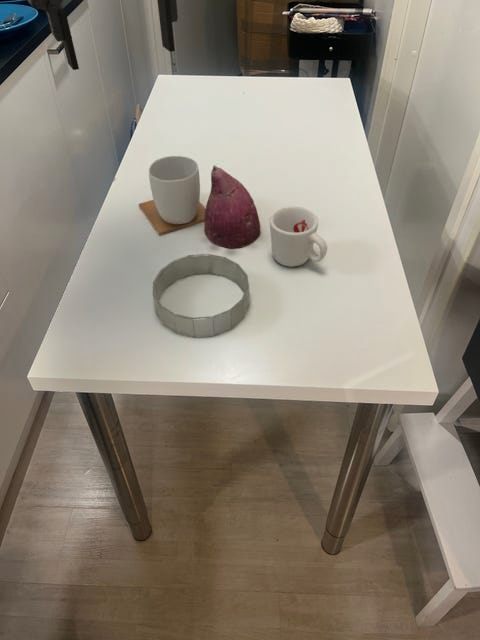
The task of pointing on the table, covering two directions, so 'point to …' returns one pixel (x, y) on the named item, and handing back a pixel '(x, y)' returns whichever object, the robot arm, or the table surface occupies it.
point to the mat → (162, 225)
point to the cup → (295, 236)
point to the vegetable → (230, 212)
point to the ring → (201, 266)
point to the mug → (175, 188)
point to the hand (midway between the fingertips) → (122, 57)
